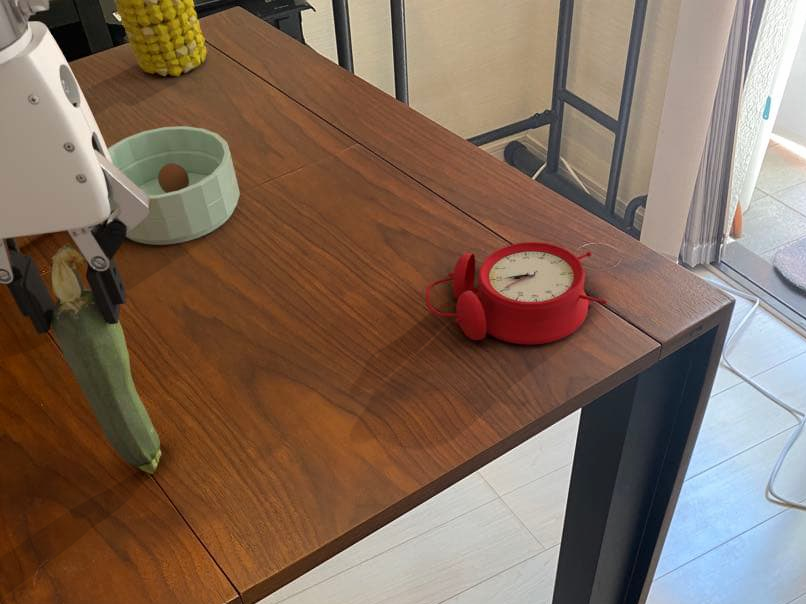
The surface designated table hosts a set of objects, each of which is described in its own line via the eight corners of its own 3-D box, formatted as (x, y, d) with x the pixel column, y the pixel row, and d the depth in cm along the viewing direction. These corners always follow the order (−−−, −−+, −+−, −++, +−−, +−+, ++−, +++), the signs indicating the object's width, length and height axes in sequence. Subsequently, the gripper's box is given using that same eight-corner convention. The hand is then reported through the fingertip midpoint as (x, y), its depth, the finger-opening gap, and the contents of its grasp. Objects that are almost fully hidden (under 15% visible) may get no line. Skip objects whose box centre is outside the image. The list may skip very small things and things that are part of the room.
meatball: (157, 196, 91) (148, 168, 89) (178, 182, 93) (170, 154, 90) (176, 204, 90) (168, 176, 87) (198, 190, 91) (190, 162, 89)
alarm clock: (616, 306, 70) (441, 288, 68) (591, 363, 75) (427, 348, 73) (592, 235, 77) (432, 216, 74) (571, 292, 82) (419, 276, 79)
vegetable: (110, 476, 67) (-1, 259, 52) (136, 438, 70) (37, 220, 54) (159, 486, 66) (61, 268, 51) (183, 447, 69) (96, 228, 53)
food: (222, 65, 115) (175, 102, 111) (154, 31, 117) (105, 65, 113) (211, -55, 102) (157, -20, 97) (135, -92, 104) (78, -59, 99)
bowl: (83, 221, 91) (63, 173, 86) (179, 162, 97) (165, 114, 93) (171, 263, 85) (155, 213, 80) (267, 197, 91) (257, 148, 87)
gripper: (117, -30, 45) (205, 267, 59) (-199, 9, 44) (-32, 298, 59) (103, 28, 40) (202, 335, 55) (-249, 72, 40) (-55, 369, 54)
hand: (79, 313), depth 56 cm, fingers closed on vegetable, 3 cm apart
